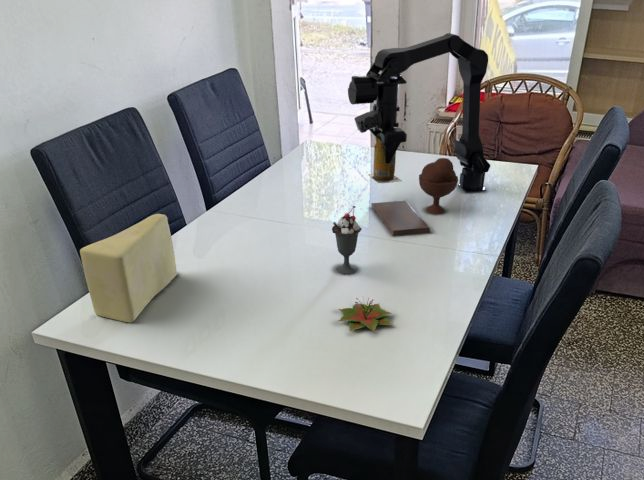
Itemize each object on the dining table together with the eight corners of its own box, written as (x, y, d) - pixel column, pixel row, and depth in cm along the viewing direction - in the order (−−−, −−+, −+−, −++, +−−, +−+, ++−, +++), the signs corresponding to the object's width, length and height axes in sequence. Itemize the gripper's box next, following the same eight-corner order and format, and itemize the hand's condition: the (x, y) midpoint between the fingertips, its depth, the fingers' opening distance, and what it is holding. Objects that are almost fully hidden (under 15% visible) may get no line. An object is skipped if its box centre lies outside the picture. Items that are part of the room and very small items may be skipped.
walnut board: (404, 205, 186) (405, 200, 185) (429, 232, 170) (430, 227, 169) (371, 208, 183) (371, 203, 183) (393, 236, 167) (393, 230, 166)
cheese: (156, 270, 149) (146, 207, 140) (193, 277, 146) (185, 214, 138) (91, 315, 131) (75, 247, 123) (132, 325, 128) (118, 255, 120)
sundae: (364, 265, 152) (366, 204, 144) (355, 277, 147) (356, 215, 139) (338, 261, 154) (338, 200, 146) (328, 273, 149) (327, 210, 141)
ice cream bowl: (453, 204, 187) (459, 152, 179) (455, 219, 178) (461, 164, 169) (416, 202, 188) (420, 150, 180) (416, 217, 178) (420, 162, 170)
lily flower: (403, 330, 128) (404, 310, 126) (344, 339, 125) (345, 318, 123) (383, 302, 138) (384, 282, 136) (328, 309, 135) (328, 289, 133)
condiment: (390, 172, 189) (392, 130, 182) (402, 181, 182) (405, 138, 176) (367, 175, 187) (368, 132, 180) (378, 184, 180) (380, 140, 173)
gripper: (349, 95, 179) (348, 151, 188) (367, 111, 164) (365, 172, 173) (387, 93, 182) (385, 149, 191) (409, 109, 167) (405, 169, 175)
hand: (384, 159), depth 182 cm, fingers closed on condiment, 6 cm apart
